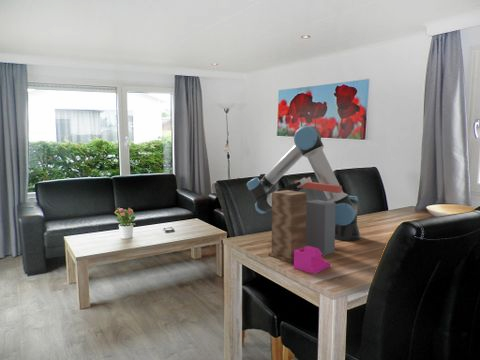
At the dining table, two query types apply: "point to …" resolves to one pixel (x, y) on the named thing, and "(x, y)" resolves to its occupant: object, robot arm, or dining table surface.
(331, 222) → the block
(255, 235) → the dining table surface
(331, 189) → the lever bar
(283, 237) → the tower
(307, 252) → the bracket
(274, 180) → the robot arm
